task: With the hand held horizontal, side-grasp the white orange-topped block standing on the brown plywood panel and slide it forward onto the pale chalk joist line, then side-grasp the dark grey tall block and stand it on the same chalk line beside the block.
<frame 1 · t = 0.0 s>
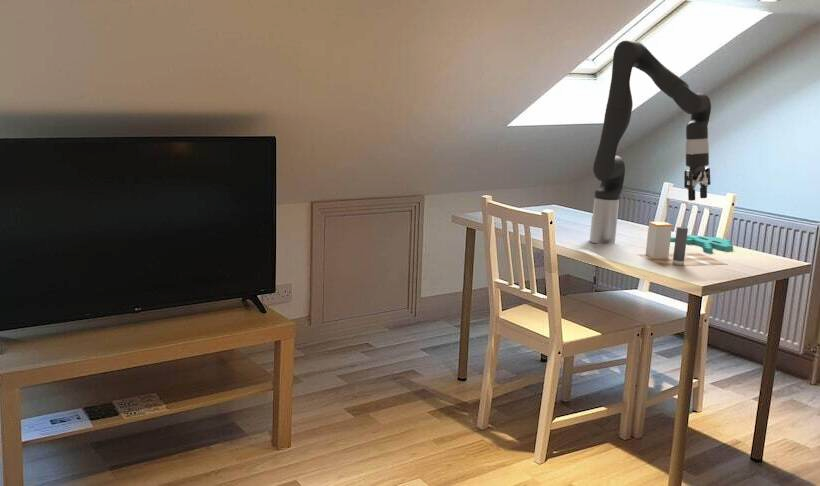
hand: (697, 199, 283), 22 cm above the table, tool pointing down, fingers open, 8 cm apart
dark grey tall block: (678, 264, 277), point 1 cm above the table, touching subfloor panel
white orange-topped block: (656, 256, 288), point 1 cm above the table, touching subfloor panel
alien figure: (705, 246, 316), on the table
subfloor panel: (681, 263, 285), on the table
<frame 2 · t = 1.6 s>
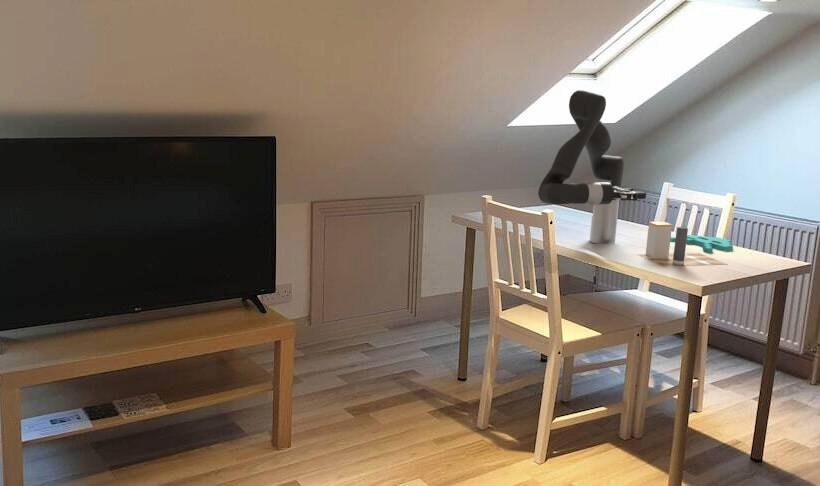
hand: (638, 193, 280), 24 cm above the table, tool horizontal, fingers open, 8 cm apart
nothing on the table moved.
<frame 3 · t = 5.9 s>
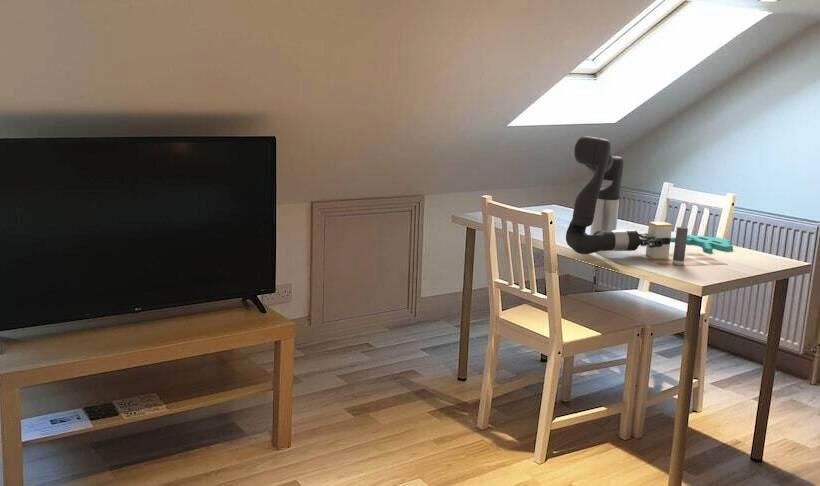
hand: (665, 239, 287), 8 cm above the table, tool horizontal, fingers closed on white orange-topped block, 5 cm apart
white orange-topped block: (656, 256, 288), point 2 cm above the table, touching gripper, subfloor panel
everything else where it was.
when the fingers open (8 cm above the table, at t = 9.9 s): white orange-topped block stays where it is, resting on subfloor panel.
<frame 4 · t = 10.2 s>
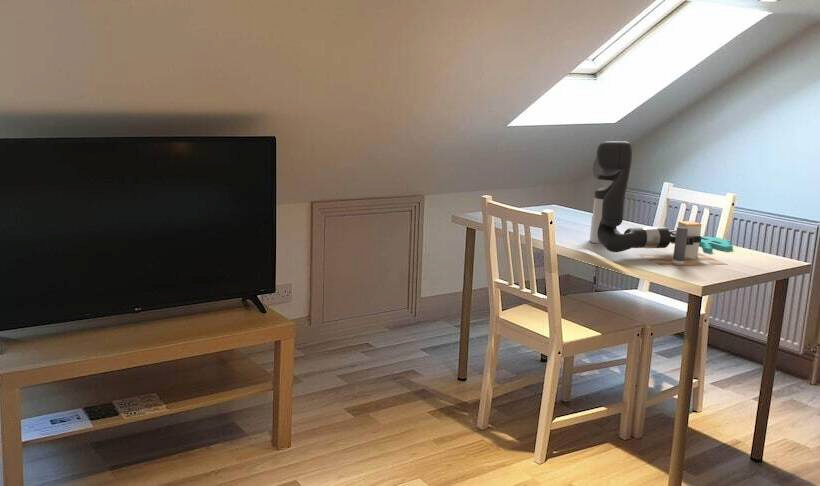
hand: (693, 236, 290), 8 cm above the table, tool horizontal, fingers open, 8 cm apart
white orange-topped block: (686, 255, 291), point 1 cm above the table, touching subfloor panel
everything else where it was.
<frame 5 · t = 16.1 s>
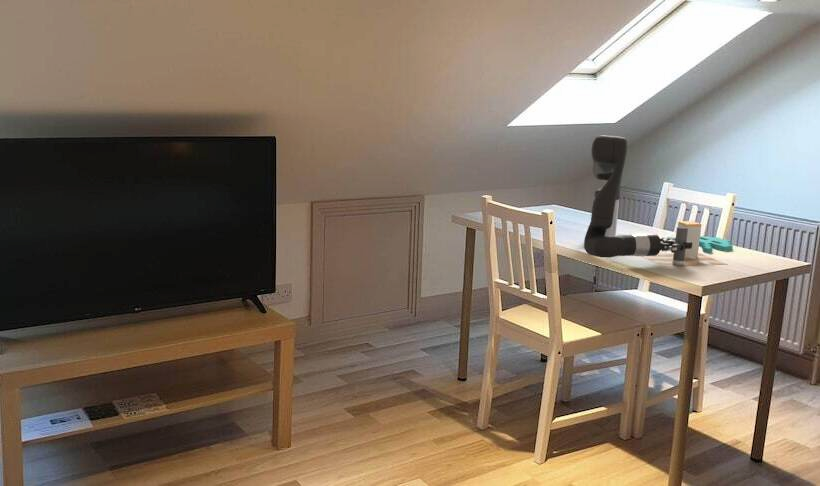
hand: (687, 243, 277), 8 cm above the table, tool horizontal, fingers closed on dark grey tall block, 3 cm apart
dark grey tall block: (678, 264, 277), point 2 cm above the table, touching gripper, subfloor panel
everything else where it was.
when the fingers open (10 cm above the table, at t = 20.5 s): dark grey tall block drops 1 cm, resting on subfloor panel.
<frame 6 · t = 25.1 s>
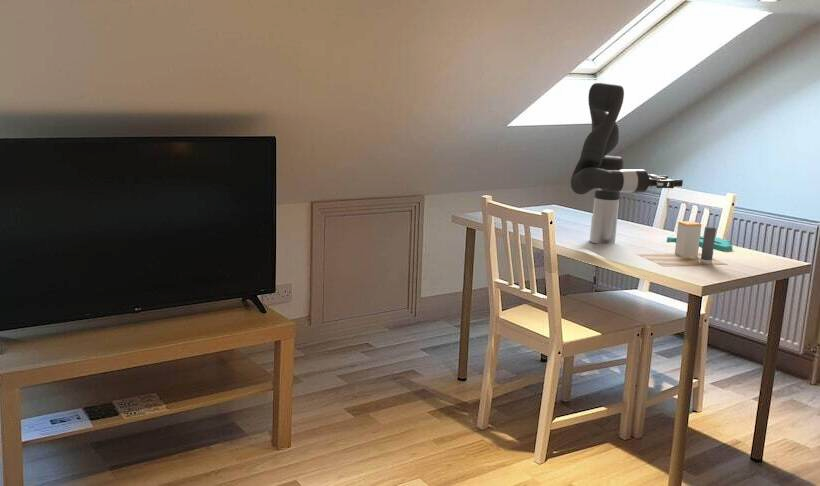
hand: (674, 181, 270), 30 cm above the table, tool horizontal, fingers open, 8 cm apart
dark grey tall block: (706, 263, 280), point 1 cm above the table, touching subfloor panel
everything else where it was.
at the end: white orange-topped block inside the target area (0.3 cm from its centre), point 1.5 cm above the table; dark grey tall block inside the target area (0.1 cm from its centre), point 1.5 cm above the table; dark grey tall block tilted 0° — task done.
